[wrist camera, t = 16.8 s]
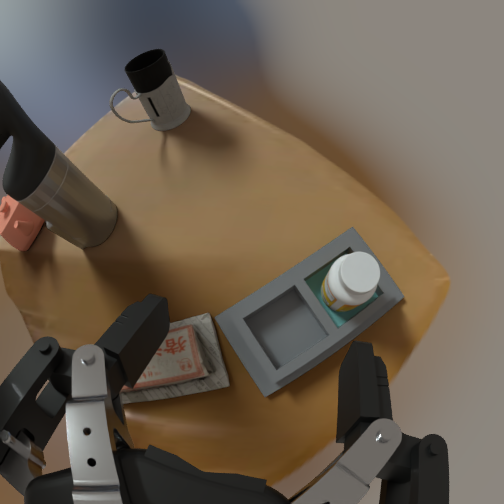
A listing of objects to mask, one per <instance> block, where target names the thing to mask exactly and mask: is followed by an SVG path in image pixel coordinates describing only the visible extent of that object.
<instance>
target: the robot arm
mask: <svg viewBox="0 0 504 504" xmlns="http://www.w3.org/2000/svg"><path fill="white" fill-rule="evenodd" d="M10 136H13V144H12V150H11V154H10V157H9V160H8V163H7V166H6V168H5V172H4V176H3V188H4V191H5V192H6V194H8V195H9V196H10V197H11V198H13V199H14V200H16V201H17V202H19V203H20V204H22V205H23V206H24V207H26V208H27V209H29V210H30V211H32V212H33V213H35V214H36V215H38V216H39V217H41V218H42V219H44V220H45V221H46V226H47V228H48V229H49V230H50V231H52V232H54V233H55V234H57V235H59V236H60V237H62V238H64V239H65V240H67V241H69V242H70V243H72V244H74V245H75V246H77V247H79V248H81V249H84V248H85V247H94V246H97V245H99V244H101V243H102V242H103V241H105V240H106V239H107V238H108V237H109V235H110V234H111V232H112V230H113V229H114V227H115V224H116V220H117V209H116V206H115V204H114V203H113V202H112V201H111V200H110V199H109V198H108V197H107V196H106V195H105V194H104V193H103V192H102V191H101V190H100V189H99V188H98V187H97V186H96V185H94V184H93V183H92V182H91V181H90V180H89V179H88V178H87V177H86V176H85V175H84V174H83V173H82V172H81V171H80V170H79V169H78V168H77V167H76V166H75V165H74V164H73V163H72V162H71V161H70V160H69V159H68V158H67V157H66V156H65V155H64V154H63V153H62V152H61V151H60V150H59V149H58V148H57V147H56V146H55V145H54V143H53V142H52V141H51V140H50V139H48V137H46V135H45V134H44V133H43V132H42V131H41V130H40V129H39V128H38V127H37V126H36V125H35V124H34V123H33V122H32V121H31V119H30V118H29V117H28V115H27V114H26V113H25V112H24V110H23V109H22V108H21V106H20V105H19V104H18V102H17V101H16V99H15V98H14V97H13V95H12V94H11V93H10V91H9V90H8V89H7V87H6V86H5V85H4V84H3V83H2V82H1V81H0V149H1V147H2V146H3V145H4V143H5V142H6V141H7V139H8V138H9V137H10ZM169 328H170V321H169V312H168V303H167V299H166V298H164V297H161V296H157V295H154V294H148V295H147V296H146V297H145V299H144V300H143V301H142V302H138V301H137V302H135V303H134V304H132V305H130V306H128V307H127V308H126V309H125V310H124V311H123V312H122V314H121V316H119V317H118V318H117V319H116V321H115V322H114V323H113V324H112V325H111V326H110V327H109V328H108V329H107V331H106V332H105V333H104V334H103V335H102V336H101V338H100V339H99V340H98V341H97V342H96V343H95V344H94V345H91V344H89V345H84V346H81V347H80V348H78V349H77V350H72V349H66V348H61V347H60V346H59V344H58V342H57V340H56V339H55V338H53V337H43V338H40V339H39V340H37V341H36V342H35V343H34V345H33V346H32V347H31V348H30V349H29V350H28V352H27V353H26V354H25V355H24V356H23V358H22V359H21V360H20V361H19V363H18V364H17V365H16V366H15V367H14V369H13V370H12V371H11V372H10V374H9V375H8V376H7V378H6V379H5V380H4V382H3V383H2V384H1V386H0V474H1V475H2V476H3V477H4V478H5V479H6V480H7V481H8V482H9V483H10V484H11V485H12V486H13V487H14V488H15V489H16V490H17V491H19V492H20V493H21V494H22V495H23V496H24V502H25V503H24V504H357V503H358V502H359V501H360V500H361V499H362V498H363V497H364V495H365V494H366V493H367V492H368V490H369V488H370V486H369V484H370V483H371V481H372V480H373V479H374V478H375V477H377V478H381V479H382V482H381V492H380V500H379V504H449V464H448V449H447V444H446V442H445V440H444V439H443V438H442V437H441V436H439V435H436V434H430V435H427V436H425V437H424V438H423V439H419V438H415V437H412V436H409V435H406V434H404V433H402V432H401V429H400V427H399V426H398V425H397V424H396V423H395V422H394V421H393V418H392V409H391V400H390V391H389V387H388V386H389V384H388V379H387V377H388V376H387V370H386V366H385V364H384V362H383V361H382V359H381V357H379V356H374V353H373V346H372V344H371V343H368V342H361V341H353V343H352V344H351V347H350V349H349V351H348V353H347V355H346V356H345V358H344V360H343V362H342V364H341V367H340V371H339V387H338V417H337V435H336V443H344V451H343V452H342V453H340V455H339V456H338V457H337V458H336V459H335V460H334V461H333V462H332V463H330V464H329V465H328V466H327V467H326V468H325V469H324V470H323V471H322V472H321V473H320V474H319V475H318V476H317V477H315V478H314V479H313V480H312V481H311V482H310V483H308V484H307V485H306V486H305V487H303V488H302V489H301V490H300V491H298V492H297V493H296V494H295V495H293V496H292V497H291V498H289V499H287V498H286V497H285V496H284V495H283V494H281V493H279V492H278V491H277V490H275V489H273V488H272V487H270V486H267V485H266V481H267V480H265V479H259V478H254V477H249V476H245V475H240V474H230V473H211V472H203V471H201V470H199V469H197V468H196V467H194V466H192V465H191V464H189V463H187V462H186V461H184V460H183V459H181V458H180V457H178V456H177V455H174V454H171V453H169V452H166V451H164V450H161V449H159V448H156V447H154V446H152V445H149V447H148V449H135V448H134V444H133V441H132V438H131V436H130V433H129V431H128V427H127V423H126V418H125V412H124V407H123V401H122V395H121V389H122V388H123V386H124V385H125V386H127V387H129V388H131V389H133V387H134V386H135V384H136V383H137V381H138V380H139V378H140V376H141V375H142V373H143V372H144V370H145V369H146V367H147V366H148V364H149V362H150V361H151V359H152V358H153V356H154V355H155V353H156V352H157V350H158V349H159V347H160V346H161V344H162V343H163V341H164V340H165V338H166V336H167V335H168V332H169ZM47 380H49V383H48V384H47V386H46V387H45V388H44V390H43V391H42V392H41V394H40V395H39V397H38V398H37V400H36V396H37V394H38V392H39V391H40V389H41V388H42V386H43V385H44V384H45V382H46V381H47ZM65 413H66V424H67V438H68V448H69V456H70V463H71V468H67V469H64V470H60V471H57V472H53V473H49V474H45V475H42V469H44V468H45V466H46V462H45V460H44V454H43V450H44V448H45V446H46V445H47V443H48V441H49V439H50V438H51V436H52V434H53V432H54V431H55V429H56V427H57V426H58V424H59V422H60V421H61V419H62V418H63V416H64V414H65Z"/></svg>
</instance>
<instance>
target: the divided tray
mask: <svg viewBox="0 0 504 504" xmlns="http://www.w3.org/2000/svg"><path fill="white" fill-rule="evenodd" d="M354 252H365V253H368V254H370V255H371V256H372V257H373V258H374V259H375V260H376V261H377V263H378V265H379V268H380V279H379V282H378V284H377V288H376V291H375V293H374V294H373V296H372V297H371V298H370V299H369V300H367V301H366V302H365V303H363V304H361V305H359V306H357V307H355V308H354V309H352V310H350V311H347V312H336V311H333V310H331V309H330V308H328V307H327V306H326V305H325V303H324V302H323V300H322V297H321V285H322V282H323V280H324V279H325V277H326V275H327V273H328V272H329V270H330V268H331V266H332V265H333V263H334V262H335V261H336V260H337V259H338V258H340V257H342V256H344V255H347V254H351V253H354ZM403 297H404V295H403V294H402V292H401V291H400V290H399V288H398V287H397V285H396V284H395V282H394V281H393V279H392V278H391V277H390V275H389V274H388V272H387V271H386V270H385V268H384V267H383V266H382V264H381V263H380V261H379V260H378V259H377V257H376V256H375V255H374V253H373V252H372V251H371V249H370V248H369V247H368V246H367V244H366V243H365V242H364V240H363V239H362V238H361V237H360V235H359V234H358V233H357V231H356V230H355V229H354V228H353V227H351V228H350V229H348V230H347V231H346V232H344V233H343V234H341V235H340V236H338V237H337V238H335V239H334V240H333V241H331V242H330V243H328V244H327V245H325V246H324V247H322V248H321V249H319V250H318V251H316V252H315V253H313V254H312V255H310V256H309V257H307V258H306V259H304V260H303V261H301V262H300V263H298V264H297V265H295V266H294V267H292V268H291V269H289V270H288V271H286V272H285V273H283V274H282V275H280V276H279V277H277V278H276V279H274V280H273V281H271V282H270V283H268V284H266V285H265V286H263V287H262V288H260V289H259V290H257V291H256V292H254V293H252V294H251V295H249V296H248V297H246V298H245V299H243V300H241V301H240V302H238V303H237V304H235V305H233V306H232V307H230V308H229V309H227V310H225V311H224V312H222V313H221V314H219V315H217V316H216V317H214V318H215V319H216V321H217V323H218V324H219V326H220V328H221V329H222V331H223V333H224V334H225V336H226V338H227V339H228V341H229V342H230V344H231V346H232V347H233V349H234V351H235V352H236V354H237V355H238V357H239V358H240V360H241V362H242V363H243V365H244V366H245V368H246V369H247V371H248V372H249V374H250V376H251V377H252V379H253V380H254V382H255V383H256V385H257V386H258V388H259V389H260V391H261V392H262V394H263V395H264V397H266V396H268V395H270V394H272V393H273V392H275V391H277V390H278V389H280V388H282V387H283V386H285V385H287V384H288V383H290V382H291V381H293V380H295V379H296V378H298V377H299V376H301V375H303V374H304V373H306V372H307V371H309V370H310V369H312V368H313V367H315V366H316V365H318V364H319V363H321V362H322V361H324V360H325V359H326V358H328V357H329V356H331V355H332V354H334V353H335V352H336V351H338V350H339V349H340V348H342V347H343V346H345V345H346V344H347V343H349V342H350V341H351V340H353V339H354V338H355V337H357V336H358V335H359V334H360V333H362V332H363V331H364V330H365V329H367V328H368V327H369V326H371V325H372V324H373V323H374V322H375V321H377V320H378V319H379V318H380V317H381V316H383V315H384V314H385V313H386V312H387V311H389V310H390V309H391V308H392V307H393V306H394V305H396V304H397V303H398V302H399V301H400V300H401V299H402V298H403Z"/></svg>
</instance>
